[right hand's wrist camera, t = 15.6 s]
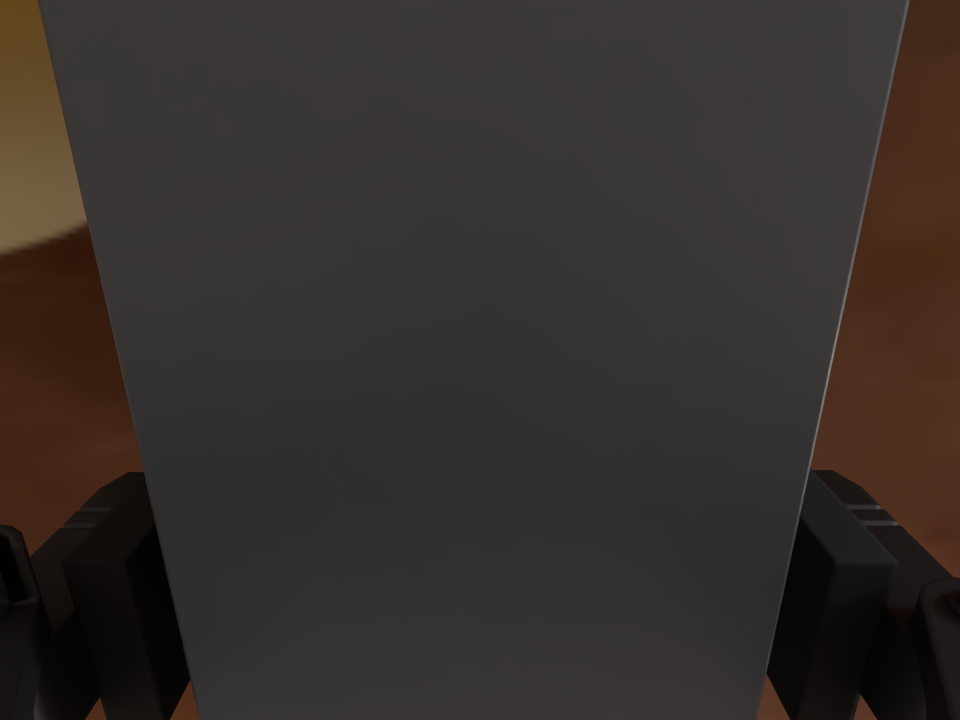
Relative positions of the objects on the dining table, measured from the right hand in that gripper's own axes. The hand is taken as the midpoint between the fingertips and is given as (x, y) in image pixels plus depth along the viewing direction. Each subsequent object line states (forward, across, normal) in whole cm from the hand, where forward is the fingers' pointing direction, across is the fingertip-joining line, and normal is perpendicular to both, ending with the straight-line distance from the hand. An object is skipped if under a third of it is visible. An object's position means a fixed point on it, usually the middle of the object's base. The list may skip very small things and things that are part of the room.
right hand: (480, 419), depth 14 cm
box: (+4, 0, -7) cm, 8 cm away
